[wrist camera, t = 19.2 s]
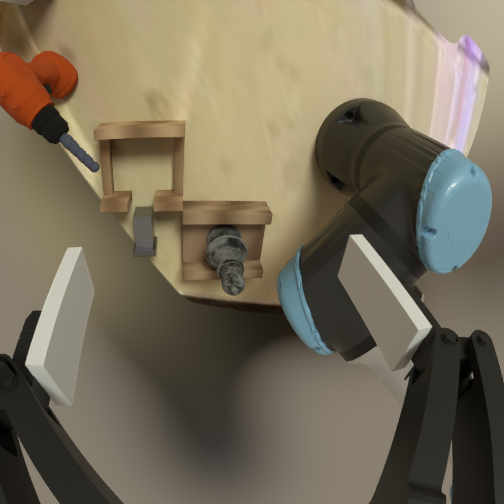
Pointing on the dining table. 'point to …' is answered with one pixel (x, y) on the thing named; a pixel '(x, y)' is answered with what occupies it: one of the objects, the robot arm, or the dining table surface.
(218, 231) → the chess piece
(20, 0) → the light bulb box
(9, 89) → the toy drill
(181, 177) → the socket frame
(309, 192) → the dining table surface
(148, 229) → the bar
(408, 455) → the robot arm
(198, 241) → the rack
